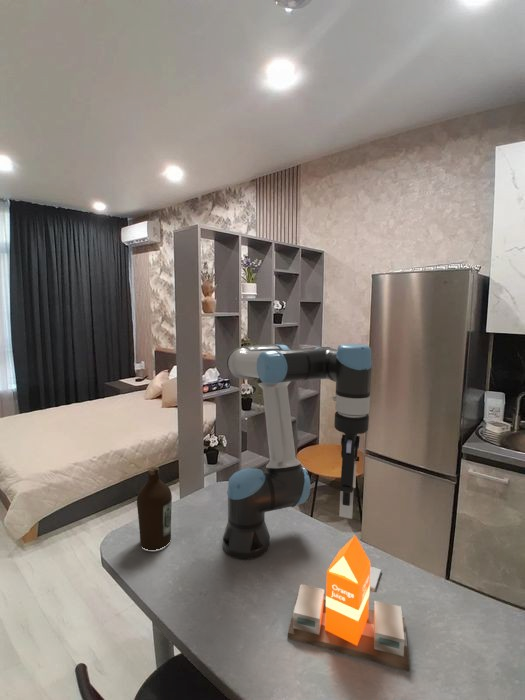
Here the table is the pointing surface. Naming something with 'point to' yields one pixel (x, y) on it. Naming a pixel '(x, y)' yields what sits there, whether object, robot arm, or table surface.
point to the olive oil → (154, 512)
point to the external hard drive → (374, 577)
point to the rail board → (376, 639)
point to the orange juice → (348, 592)
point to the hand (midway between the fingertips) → (347, 500)
